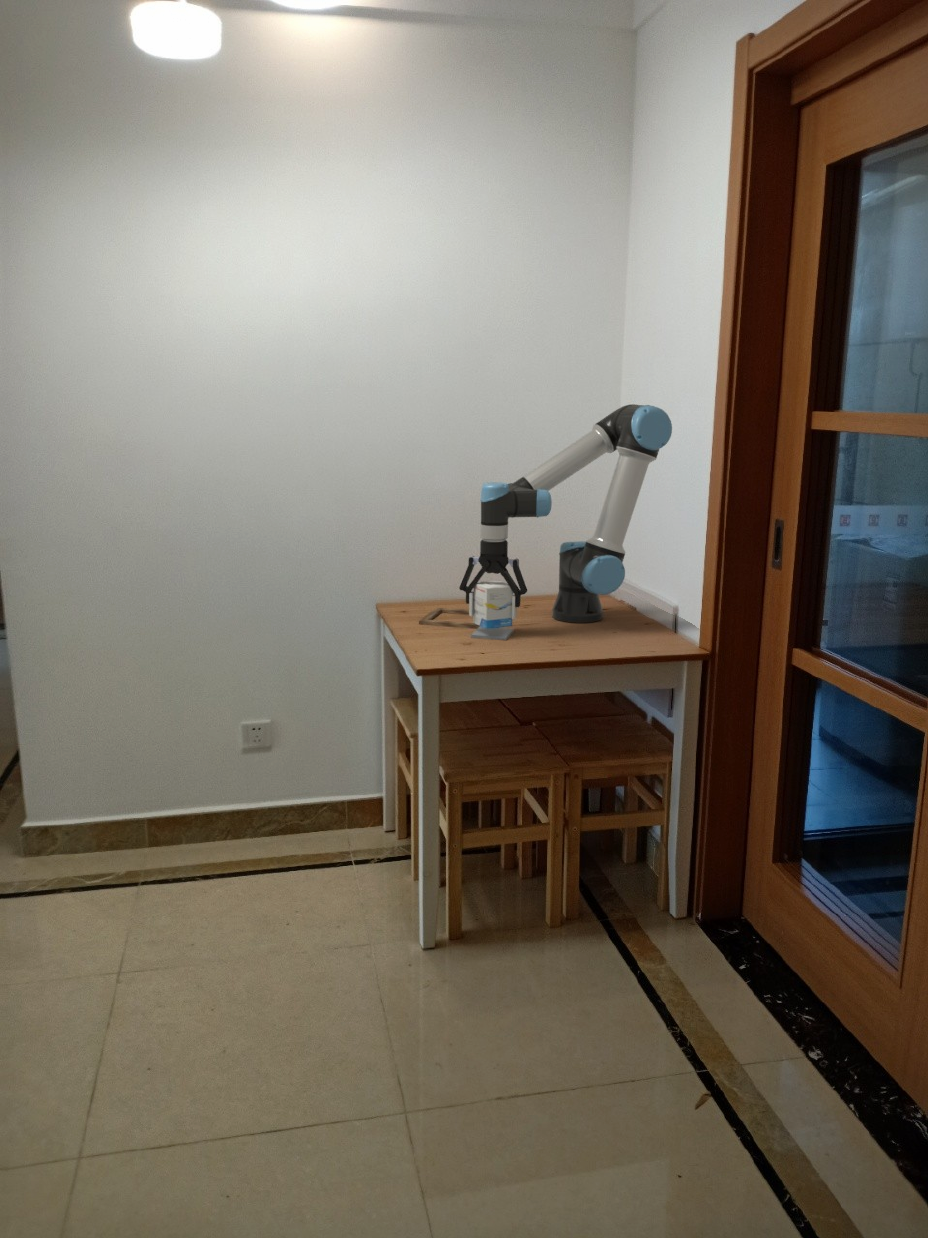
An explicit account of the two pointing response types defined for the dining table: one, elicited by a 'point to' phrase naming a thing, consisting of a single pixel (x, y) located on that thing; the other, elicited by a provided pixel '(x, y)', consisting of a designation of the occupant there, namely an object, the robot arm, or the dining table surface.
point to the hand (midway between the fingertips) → (492, 616)
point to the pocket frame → (428, 621)
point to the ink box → (492, 604)
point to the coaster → (492, 633)
